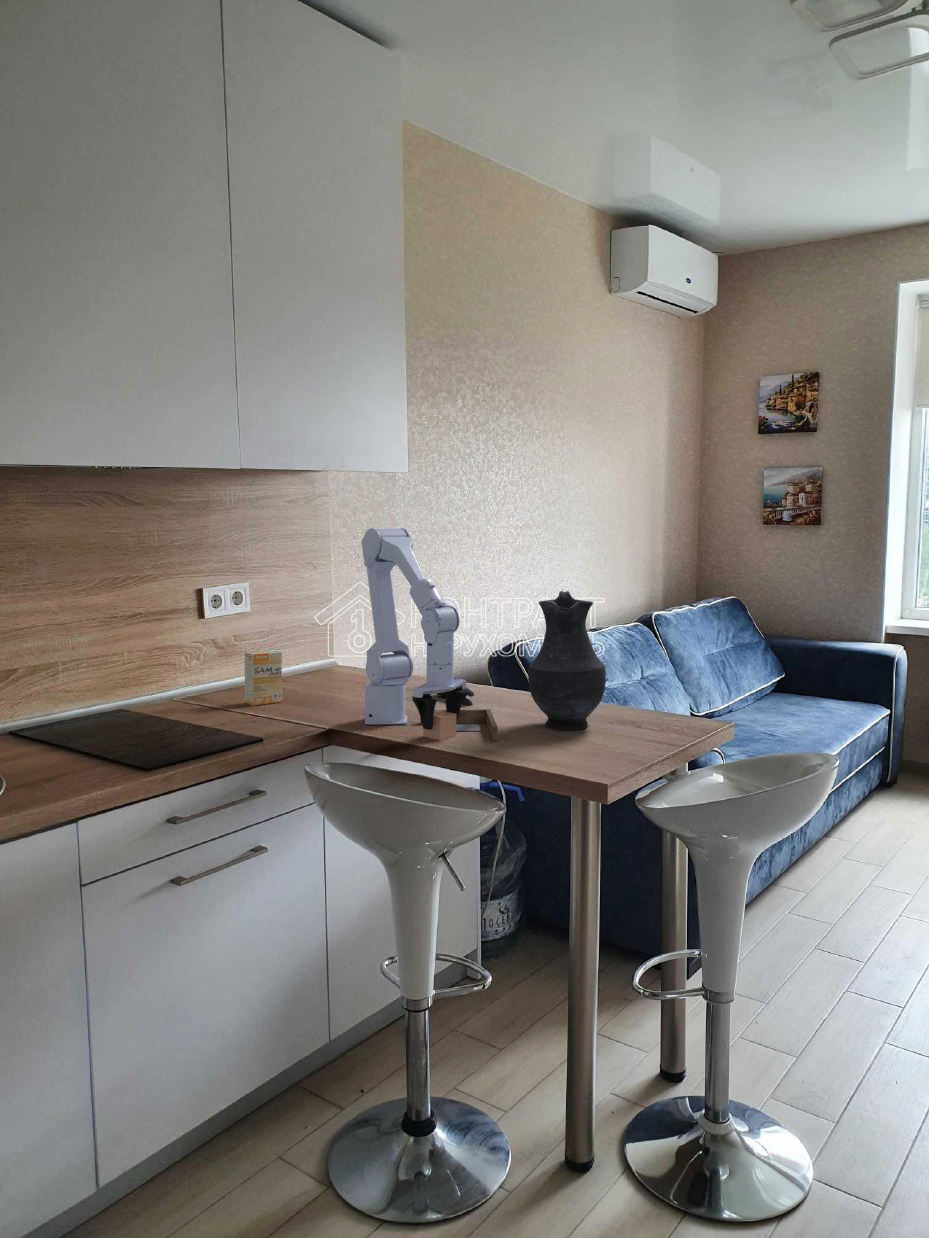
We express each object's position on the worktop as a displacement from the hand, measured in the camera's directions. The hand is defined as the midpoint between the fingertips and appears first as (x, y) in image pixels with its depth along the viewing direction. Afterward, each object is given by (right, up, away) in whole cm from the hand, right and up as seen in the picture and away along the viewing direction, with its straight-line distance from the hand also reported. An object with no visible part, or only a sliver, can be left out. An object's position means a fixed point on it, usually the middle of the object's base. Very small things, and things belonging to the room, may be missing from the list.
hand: (439, 726), depth 198 cm
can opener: (+3, +2, +41) cm, 41 cm away
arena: (+4, -2, +5) cm, 6 cm away
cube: (0, -2, 0) cm, 2 cm away
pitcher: (+28, -1, +13) cm, 31 cm away
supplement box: (-45, +2, +35) cm, 57 cm away
